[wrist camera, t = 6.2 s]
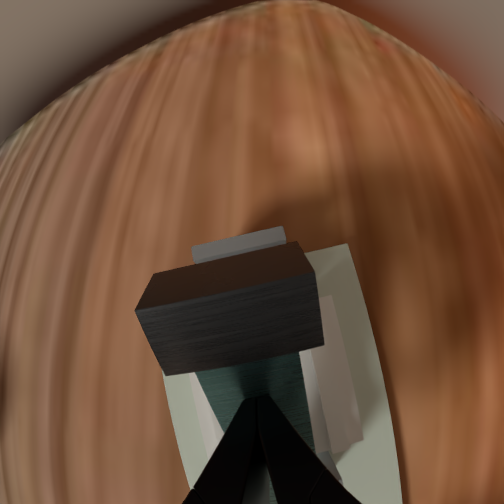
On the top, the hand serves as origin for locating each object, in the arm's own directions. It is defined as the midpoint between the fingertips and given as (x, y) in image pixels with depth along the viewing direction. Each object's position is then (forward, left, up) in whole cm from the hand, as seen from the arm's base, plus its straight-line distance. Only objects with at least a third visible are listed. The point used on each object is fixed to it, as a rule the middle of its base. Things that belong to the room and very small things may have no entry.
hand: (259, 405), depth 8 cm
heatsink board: (-3, +2, -12) cm, 12 cm away
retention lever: (-6, +3, -6) cm, 9 cm away
